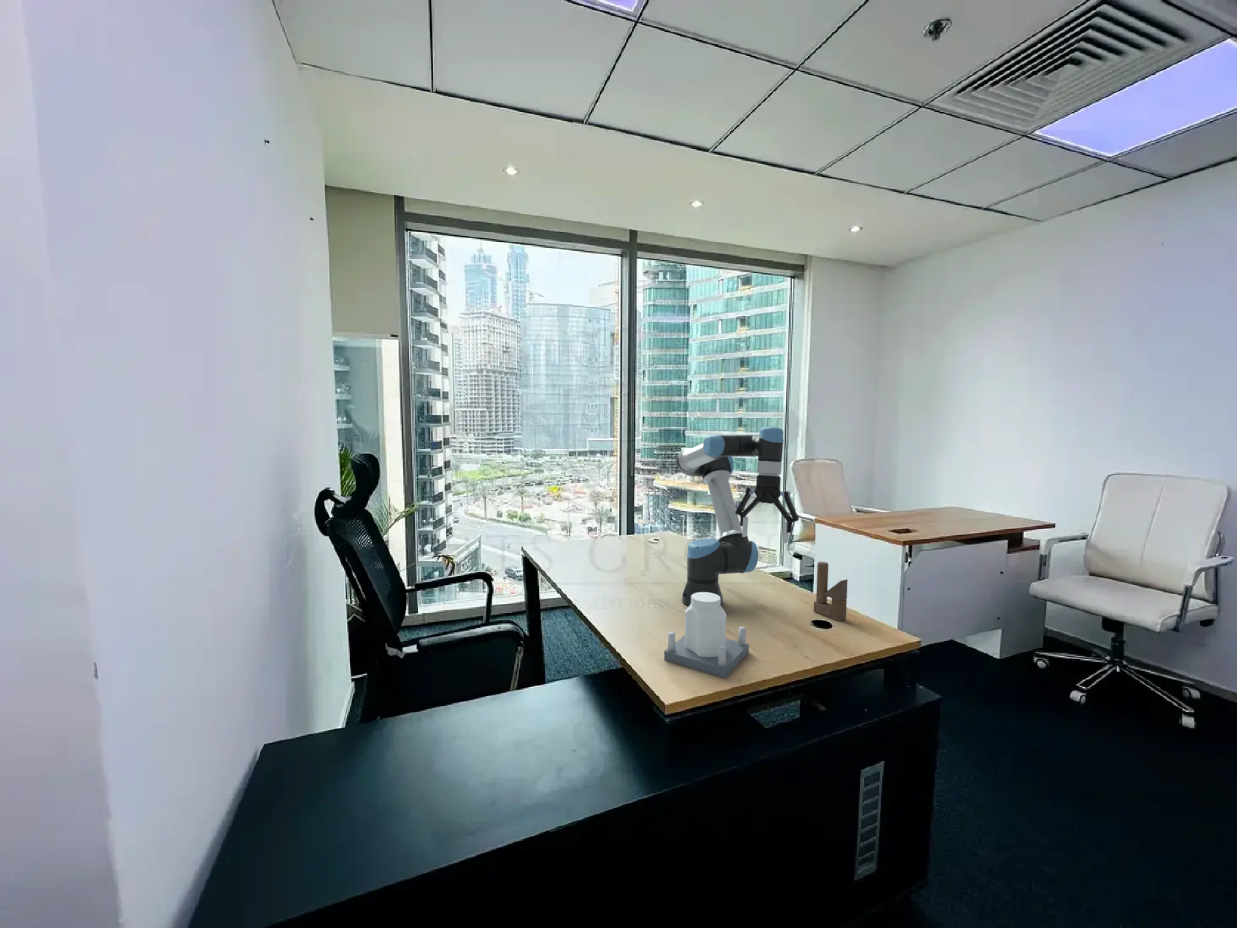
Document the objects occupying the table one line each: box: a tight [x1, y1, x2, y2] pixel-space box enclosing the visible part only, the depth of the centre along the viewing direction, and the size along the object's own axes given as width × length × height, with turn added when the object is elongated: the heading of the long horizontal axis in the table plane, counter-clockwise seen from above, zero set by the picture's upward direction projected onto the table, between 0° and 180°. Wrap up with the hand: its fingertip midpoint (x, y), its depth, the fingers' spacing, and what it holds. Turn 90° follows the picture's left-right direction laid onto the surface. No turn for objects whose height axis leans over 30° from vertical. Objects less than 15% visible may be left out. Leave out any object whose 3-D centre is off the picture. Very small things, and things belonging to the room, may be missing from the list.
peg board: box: [663, 626, 750, 679], centre depth 140 cm, size 18×18×8 cm
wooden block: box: [813, 561, 849, 622], centre depth 171 cm, size 4×11×18 cm, turn 29°
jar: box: [684, 592, 727, 658], centre depth 139 cm, size 12×10×15 cm
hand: (764, 539), depth 160 cm, fingers open, 13 cm apart
